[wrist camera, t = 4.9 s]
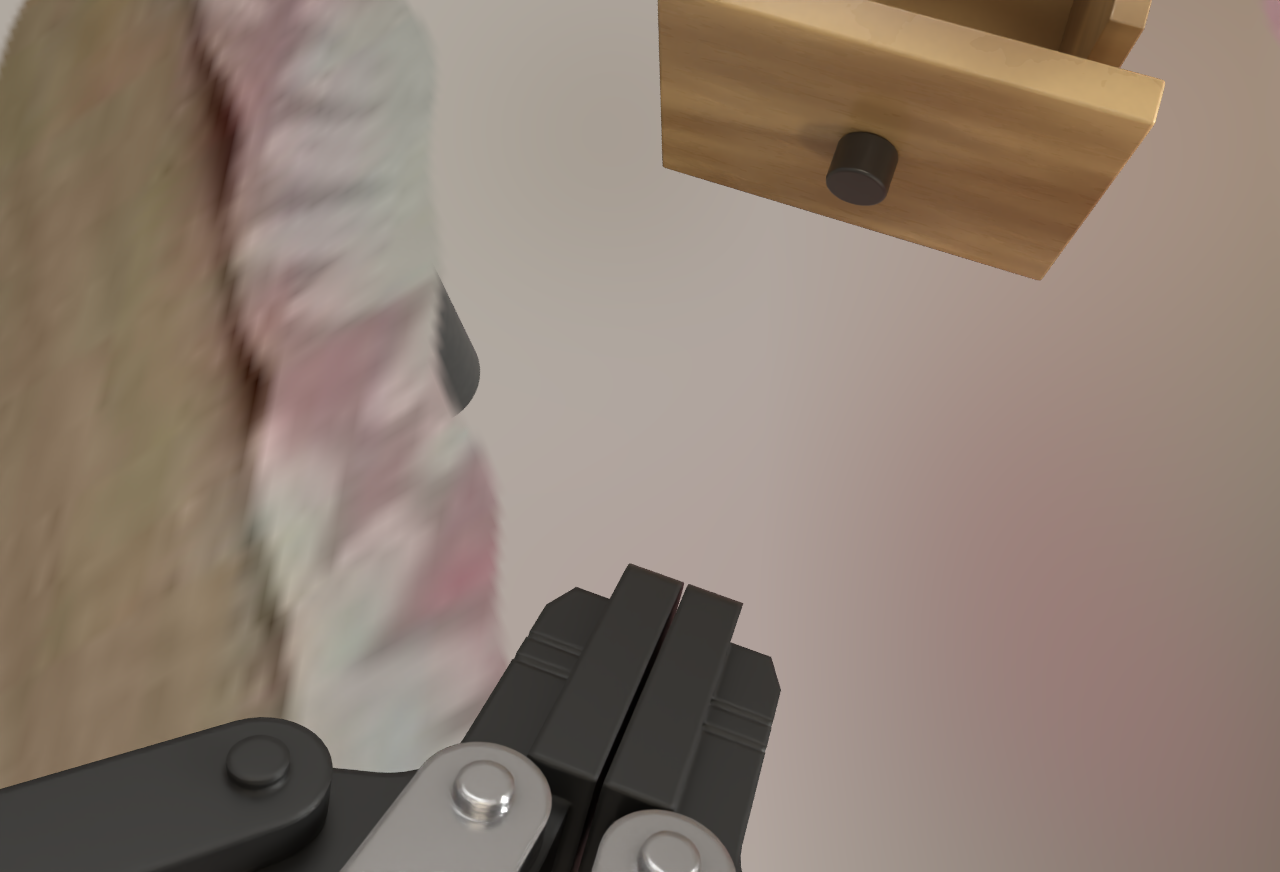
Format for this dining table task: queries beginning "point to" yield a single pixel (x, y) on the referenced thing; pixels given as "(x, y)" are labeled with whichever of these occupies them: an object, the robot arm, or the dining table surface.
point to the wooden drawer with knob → (912, 113)
